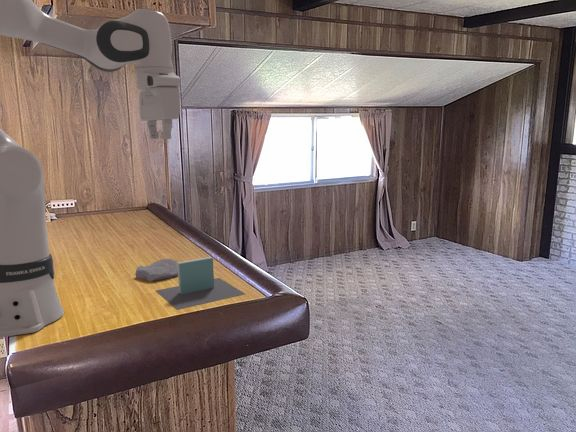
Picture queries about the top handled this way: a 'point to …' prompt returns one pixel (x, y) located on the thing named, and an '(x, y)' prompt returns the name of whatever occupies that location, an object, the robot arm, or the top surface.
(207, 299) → the mat
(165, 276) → the stone block
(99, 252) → the top surface
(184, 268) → the tile
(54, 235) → the top surface
